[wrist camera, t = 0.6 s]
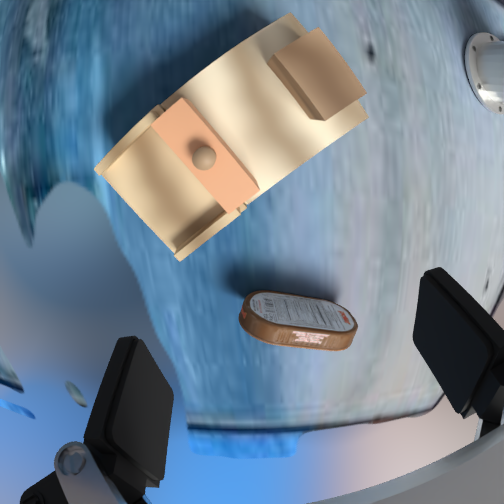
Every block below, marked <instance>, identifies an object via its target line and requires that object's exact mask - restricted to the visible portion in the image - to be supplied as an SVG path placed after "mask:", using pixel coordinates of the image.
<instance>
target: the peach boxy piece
mask: <svg viewBox="0 0 504 504" xmlns="http://www.w3.org/2000/svg"><path fill="white" fill-rule="evenodd" d="M151 127H152V128H153V129H154V130H155V131H156V132H157V133H158V134H159V136H160V137H161V138H162V139H163V140H164V141H165V142H166V144H167V145H168V146H169V147H170V148H171V149H172V150H173V152H174V153H175V154H176V155H177V156H178V157H179V158H180V159H181V161H182V162H183V163H184V164H185V165H186V166H187V167H188V169H189V170H190V171H191V172H192V173H193V174H194V175H195V177H196V178H197V179H198V180H199V181H200V182H201V183H202V185H203V186H204V187H205V188H206V189H207V190H208V192H209V193H210V194H211V195H212V196H213V197H214V198H215V200H216V201H217V202H218V203H219V204H220V205H221V206H222V208H223V209H224V210H225V211H226V212H227V213H228V214H230V213H231V212H232V211H234V210H235V209H236V208H238V207H239V206H240V205H242V204H243V203H244V202H245V201H247V200H248V199H249V198H251V197H252V196H253V195H255V194H256V193H257V192H259V191H260V189H259V186H258V183H257V180H256V179H255V178H254V177H253V175H252V174H251V173H250V172H249V170H248V169H247V168H246V167H245V166H244V164H243V163H242V162H241V161H240V159H239V158H238V157H237V156H236V155H235V153H234V152H233V151H232V150H231V149H230V147H229V146H228V145H227V144H226V143H225V141H224V140H223V139H222V138H221V137H220V135H219V134H218V133H217V132H216V131H215V130H214V128H213V127H212V126H211V125H210V124H209V122H208V121H207V120H206V119H205V118H204V117H203V116H202V114H201V113H200V112H199V111H198V110H197V109H196V107H195V106H194V105H193V104H192V103H191V102H190V101H189V100H188V99H185V98H180V99H179V100H178V101H177V102H176V103H175V104H173V105H172V106H171V107H170V108H169V109H168V110H166V111H165V112H164V113H163V114H162V115H161V116H160V117H159V118H157V119H156V120H155V121H154V122H153V123H152V124H151Z"/></svg>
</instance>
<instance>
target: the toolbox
mask: <svg viewBox="0 0 504 504" xmlns="http://www.w3.org/2000/svg"><path fill="white" fill-rule="evenodd" d="M288 14H289V13H288ZM283 17H284V16H283ZM281 18H282V17H281ZM276 21H277V20H276ZM274 22H275V21H274ZM269 25H270V24H269ZM264 28H265V27H264ZM261 30H262V29H261ZM256 33H257V32H256ZM253 35H254V34H253ZM245 40H246V39H245ZM242 42H243V41H242ZM239 44H240V43H239ZM236 46H237V45H236ZM229 51H230V50H229ZM226 53H227V52H226ZM223 55H224V54H223ZM219 58H220V57H219ZM215 61H216V60H215ZM212 63H213V62H212ZM208 66H209V65H208ZM204 69H205V68H204ZM199 73H200V72H199ZM195 76H196V75H195ZM190 80H191V79H190ZM185 84H186V83H185ZM180 88H181V87H180ZM180 88H179V89H180ZM174 93H175V92H174ZM174 93H173V94H174ZM167 99H168V98H167ZM167 99H166V100H167ZM166 110H167V109H166V108H165V107H164V106H163V104H161V105H159V104H158V105H156V106H155V107H154V108H153V109H152V110H151V111H150V112H149V113H148V114H147V115H146V116H144V117H143V118H142V119H141V120H140V121H139V122H138V123H137V124H136V125H135V126H134V127H133V128H132V129H131V130H130V131H129V132H128V133H127V134H126V135H125V136H124V137H123V138H122V139H121V140H120V141H119V142H118V143H117V144H116V145H115V146H114V147H113V148H112V149H111V150H110V151H109V152H108V154H107V155H106V156H105V157H104V158H103V159H102V160H101V161H100V162H99V163H98V164H97V166H96V167H95V168H94V170H95V171H96V172H97V173H98V175H99V176H100V175H102V176H103V177H104V178H105V179H106V180H107V181H108V183H109V184H110V185H111V186H112V187H113V188H114V189H115V190H116V191H117V193H118V194H119V195H120V196H121V197H122V198H123V199H124V200H125V201H126V202H127V204H128V205H129V206H130V207H131V208H132V209H133V210H134V211H135V212H136V213H137V214H138V215H139V217H140V218H141V219H142V220H143V221H144V222H145V223H146V224H147V225H148V226H149V227H150V228H151V229H152V230H153V231H154V232H155V234H156V235H157V236H158V237H159V238H160V239H161V240H162V241H163V242H164V243H165V244H166V245H167V246H168V247H169V248H170V249H171V250H172V251H173V252H174V253H175V254H174V256H175V257H176V258H177V259H178V260H179V261H182V260H183V259H184V258H185V257H187V256H188V255H189V254H190V253H192V252H193V251H194V250H195V249H197V248H198V247H199V246H200V245H202V244H203V243H204V242H206V241H207V240H208V239H209V238H211V237H212V236H213V235H215V234H216V233H217V232H218V231H220V230H221V229H222V228H224V227H225V226H226V225H228V224H229V223H230V222H231V221H233V220H234V219H235V218H237V217H238V216H239V215H241V212H242V211H244V210H245V209H246V208H247V206H246V205H247V204H248V203H247V202H246V201H245V202H244V203H243V204H242V205H240V206H239V207H238V208H236V209H235V210H234V211H232V212H231V213H230V214H228V213H227V212H226V211H225V210H224V209H223V208H222V206H221V205H220V204H219V203H218V202H217V201H216V200H215V198H214V197H213V196H212V195H211V194H210V193H209V192H208V190H207V189H206V188H205V187H204V186H203V185H202V183H201V182H200V181H199V180H198V179H197V178H196V177H195V175H194V174H193V173H192V172H191V171H190V170H189V169H188V167H187V166H186V165H185V164H184V163H183V162H182V161H181V159H180V158H179V157H178V156H177V155H176V154H175V153H174V152H173V150H172V149H171V148H170V147H169V146H168V145H167V144H166V142H165V141H164V140H163V139H162V138H161V137H160V136H159V134H158V133H157V132H156V131H155V130H154V129H153V128H152V127H151V124H152V123H153V122H154V121H155V120H156V119H157V118H159V117H160V116H161V115H162V114H163V113H164V112H165V111H166Z"/></svg>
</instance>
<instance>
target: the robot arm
mask: <svg viewBox="0 0 504 504" xmlns="http://www.w3.org/2000/svg"><path fill="white" fill-rule="evenodd" d="M465 64H466V70H467V75H468V78H469V82H470V84H471V86H472V89H473V91H474V93H475V95H476V96H477V98H478V99H479V101H480V102H481V104H482V105H483V106H484V107H485V108H486V109H488V110H489V111H491V112H493V113H496V114H504V41H500V40H499V39H498V38H497V37H495V36H494V35H492V34H490V33H486V32H481V33H476V34H474V35H472V37H471V38H470V39H469V41H468V43H467V46H466V50H465ZM413 342H414V344H415V346H416V347H417V349H418V351H419V352H420V354H421V355H422V357H423V358H424V360H425V362H426V363H427V365H428V366H429V368H430V370H431V371H432V373H433V374H434V376H435V378H436V379H437V381H438V383H439V384H440V386H441V388H442V389H443V391H444V393H445V395H446V396H447V398H448V400H449V401H450V403H451V405H452V407H453V408H454V410H455V412H457V413H458V414H459V413H460V414H461V415H462V417H463V419H465V418H467V417H469V416H470V415H472V414H474V413H477V415H478V417H479V421H478V426H477V431H476V435H475V440H474V442H472V443H470V444H469V445H467V446H465V447H463V448H462V449H459V450H457V451H456V452H454V453H452V454H450V455H448V456H446V457H444V458H442V459H440V460H438V461H436V462H433V463H431V464H429V465H427V466H425V467H422V468H420V469H418V470H415V471H413V472H411V473H408V474H406V475H403V476H401V477H398V478H395V479H393V480H390V481H387V482H384V483H382V484H379V485H376V486H373V487H369V488H366V489H363V490H360V491H357V492H353V493H350V494H346V495H342V496H338V497H335V498H330V499H326V500H322V501H318V502H312V503H308V504H504V330H503V329H502V328H501V327H500V326H499V325H498V323H497V322H496V321H495V320H494V319H493V318H492V317H491V316H490V315H489V314H488V313H487V312H486V311H485V310H484V308H483V307H482V306H481V305H480V304H479V303H478V302H477V301H476V300H475V299H474V298H473V297H472V296H471V295H470V294H469V293H468V292H467V291H466V290H465V289H464V288H463V287H462V286H461V285H460V284H459V283H458V282H457V281H455V280H454V279H453V278H452V277H451V276H450V275H449V274H448V273H447V272H446V271H445V270H444V269H443V268H441V267H437V268H434V269H431V270H428V271H426V272H425V273H424V276H423V277H421V279H420V287H419V295H418V303H417V311H416V318H415V324H414V331H413ZM173 400H174V395H173V391H172V388H171V387H170V385H169V384H168V382H167V380H166V379H165V377H164V376H163V374H162V372H161V371H160V369H159V367H158V366H157V364H156V362H155V361H154V359H153V357H152V356H151V354H150V352H149V350H148V349H147V347H146V345H145V343H144V342H143V341H142V340H141V339H138V338H137V337H136V336H129V337H122V338H119V339H118V341H117V343H116V346H115V348H114V351H113V353H112V356H111V359H110V361H109V364H108V367H107V369H106V372H105V374H104V377H103V380H102V383H101V385H100V388H99V391H98V394H97V397H96V400H95V403H94V406H93V409H92V412H91V415H90V418H89V421H88V424H87V427H86V431H85V434H84V442H83V443H81V442H77V441H75V442H69V443H67V444H65V445H64V446H62V447H61V448H60V449H59V451H58V452H57V454H56V456H55V460H54V468H55V471H54V472H52V473H51V474H49V475H48V476H46V477H45V478H43V479H42V480H40V481H39V482H37V483H36V484H34V485H33V486H31V487H30V488H28V489H27V490H26V491H25V492H24V493H23V495H22V496H21V499H20V504H152V503H151V502H150V500H149V499H148V498H147V497H146V495H145V488H146V487H157V488H159V483H160V480H163V478H164V474H165V464H166V455H167V446H168V438H169V430H170V422H171V414H172V407H173Z"/></svg>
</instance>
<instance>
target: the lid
mask: <svg viewBox="0 0 504 504" xmlns="http://www.w3.org/2000/svg"><path fill="white" fill-rule="evenodd" d="M365 94H367V93H366V91H365V89H364V88H363V86H362V85H361V83H360V82H359V80H358V79H357V77H356V76H355V75H354V73H353V72H352V70H351V69H350V67H349V66H348V65H347V63H346V62H345V60H344V59H343V58H342V56H341V55H340V54H339V52H338V51H337V50H336V48H335V47H334V46H333V44H332V43H331V42H330V41H329V39H328V38H327V37H326V36H325V34H324V33H323V32H322V31H321V29H320V28H319V27H318V28H316V29H314V30H312V31H311V32H309V33H308V32H307V31H306V29H305V28H304V27H303V26H302V25H301V24H300V22H299V21H298V20H297V19H296V18H295V17H294V16H293V15H292V13H289V14H287V15H285V16H284V17H282V18H280V19H278V20H277V21H275V22H273V23H271V24H270V25H268V26H266V27H265V28H263V29H262V30H260V31H258V32H257V33H255V34H254V35H252V36H250V37H249V38H247V39H246V40H244V41H243V42H241V43H240V44H238V45H237V46H235V47H234V48H232V49H231V50H230V51H228V52H227V53H225V54H224V55H222V56H221V57H220V58H218V59H217V60H216V61H214V62H213V63H211V64H210V65H209V66H207V67H206V68H205V69H203V70H202V71H201V72H200V73H198V74H197V75H196V76H194V77H193V78H192V79H191V80H189V81H188V82H187V83H186V84H184V85H183V86H182V87H181V88H180V89H178V90H177V91H176V92H175V93H174V94H172V95H171V96H170V97H169V98H168V99H167V100H165V101H164V102H163V103H162V104H163V106H164V107H165V108H166V109H167V110H168V109H169V108H170V107H171V106H172V105H173V104H175V103H176V102H177V101H178V100H179V99H180V98H185V99H188V100H189V101H190V102H191V103H192V104H193V105H194V106H195V107H196V109H197V110H198V111H199V112H200V113H201V114H202V116H203V117H204V118H205V119H206V120H207V121H208V122H209V124H210V125H211V126H212V127H213V128H214V130H215V131H216V132H217V133H218V134H219V135H220V137H221V138H222V139H223V140H224V141H225V143H226V144H227V145H228V146H229V147H230V149H231V150H232V151H233V152H234V153H235V155H236V156H237V157H238V158H239V159H240V161H241V162H242V163H243V164H244V166H245V167H246V168H247V169H248V170H249V172H250V173H251V174H252V175H253V177H254V178H255V179H256V180H257V183H258V186H259V189H260V191H259V192H257V193H256V194H255V195H253V196H252V197H251V198H249V199H248V200H247V201H246V202H247V203H248V204H249V203H250V202H252V201H253V200H254V199H256V198H257V197H258V196H260V195H261V194H262V193H264V192H265V191H266V190H268V189H269V188H270V187H272V186H273V185H274V184H276V183H277V182H278V181H280V180H281V179H283V178H284V177H285V176H287V175H288V174H289V173H291V172H292V171H293V170H295V169H296V168H298V167H299V166H300V165H302V164H303V163H304V162H306V161H307V160H309V159H310V158H311V157H313V156H314V155H316V154H317V153H318V152H320V151H321V150H323V149H324V148H325V147H327V146H328V145H330V144H331V143H332V142H334V141H335V140H337V139H338V138H340V137H341V136H342V135H344V134H345V133H347V132H348V131H350V130H351V129H352V128H354V127H355V126H357V125H358V124H360V123H361V122H363V121H364V120H366V119H367V118H368V115H367V113H366V112H365V110H364V109H363V107H362V106H361V104H360V102H359V101H358V99H359V98H360V97H362V96H364V95H365Z"/></svg>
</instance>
